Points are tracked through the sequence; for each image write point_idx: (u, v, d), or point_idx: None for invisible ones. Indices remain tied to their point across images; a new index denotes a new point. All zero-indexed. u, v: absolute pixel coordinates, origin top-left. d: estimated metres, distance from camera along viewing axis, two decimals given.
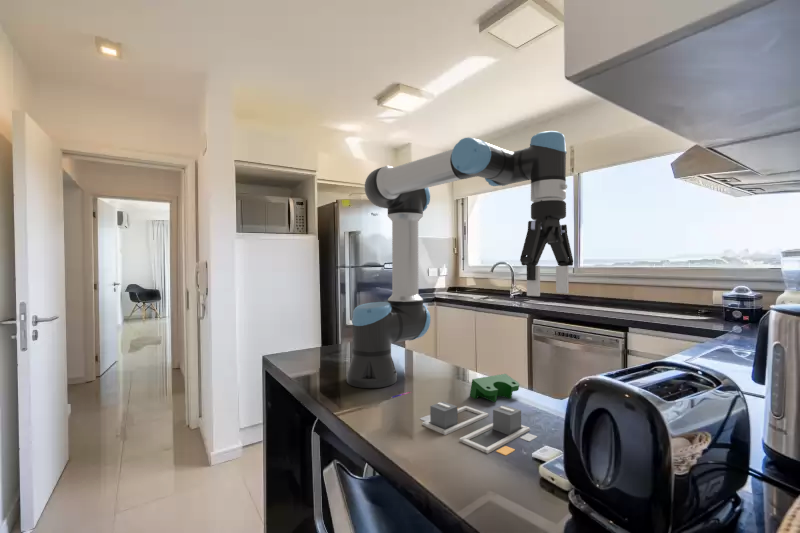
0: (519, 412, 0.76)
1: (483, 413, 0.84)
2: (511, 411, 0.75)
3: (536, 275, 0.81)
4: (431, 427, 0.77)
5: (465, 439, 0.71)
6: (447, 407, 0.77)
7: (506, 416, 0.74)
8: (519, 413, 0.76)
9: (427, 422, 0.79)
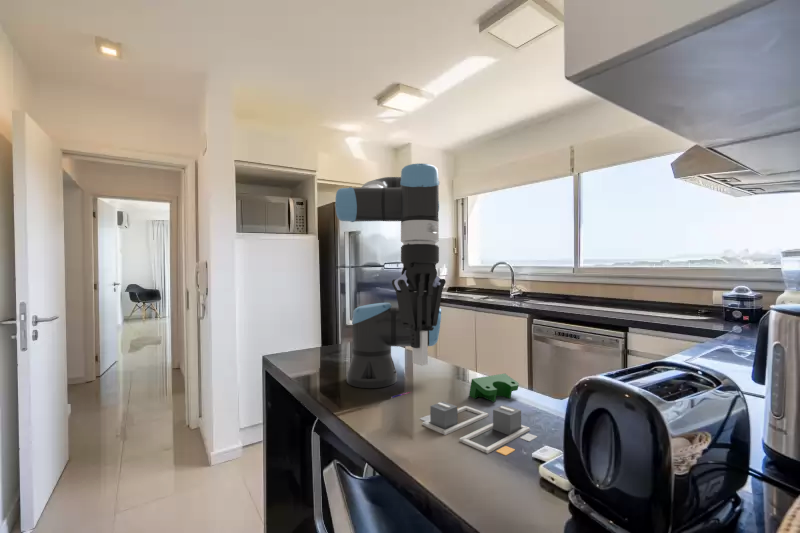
0: (519, 412, 0.76)
1: (483, 413, 0.84)
2: (511, 411, 0.75)
3: (420, 342, 0.73)
4: (431, 427, 0.77)
5: (465, 439, 0.71)
6: (447, 407, 0.77)
7: (506, 416, 0.74)
8: (519, 413, 0.76)
9: (427, 422, 0.79)
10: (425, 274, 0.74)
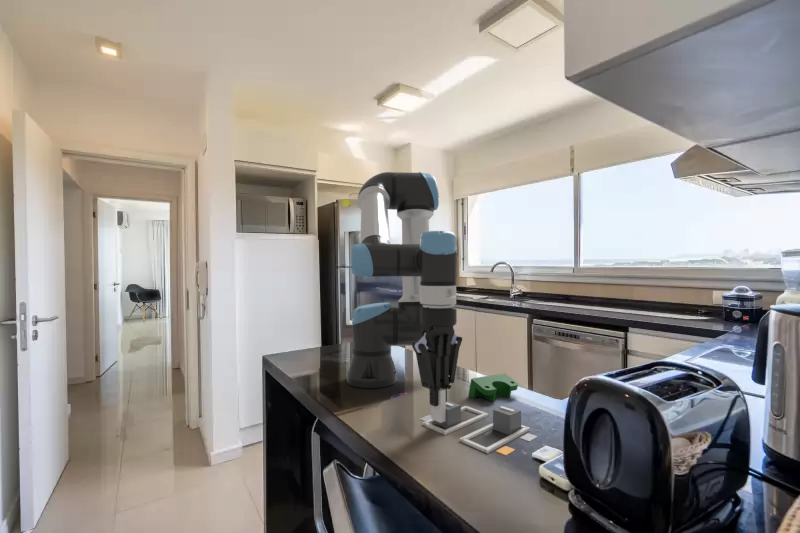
0: (519, 412, 0.76)
1: (483, 413, 0.84)
2: (511, 411, 0.75)
3: (439, 400, 0.76)
4: (431, 427, 0.77)
5: (465, 439, 0.71)
6: (451, 406, 0.78)
7: (506, 416, 0.74)
8: (519, 413, 0.76)
9: (427, 422, 0.79)
10: (443, 335, 0.77)
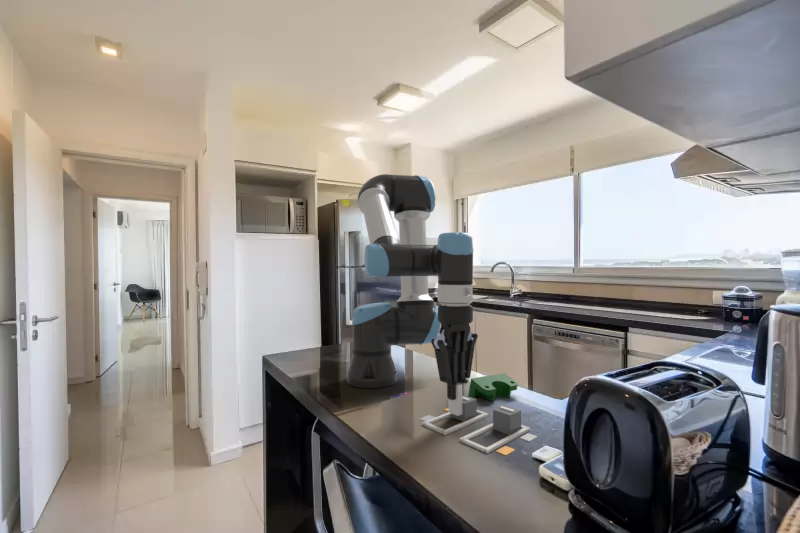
0: (519, 412, 0.76)
1: (483, 413, 0.84)
2: (511, 411, 0.75)
3: (456, 394, 0.80)
4: (431, 427, 0.77)
5: (465, 439, 0.71)
6: (467, 400, 0.82)
7: (506, 416, 0.74)
8: (519, 413, 0.76)
9: (427, 422, 0.79)
10: (460, 332, 0.81)
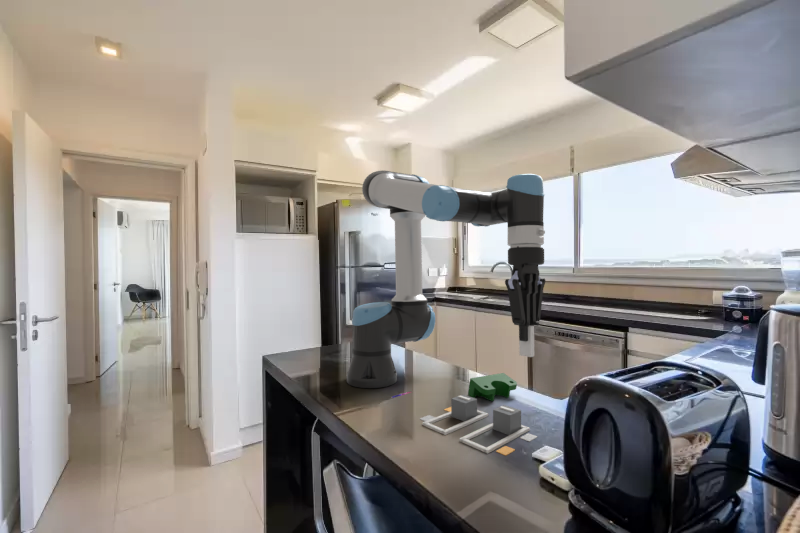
0: (519, 412, 0.76)
1: (483, 413, 0.84)
2: (511, 411, 0.75)
3: (528, 336, 0.80)
4: (431, 427, 0.77)
5: (465, 439, 0.71)
6: (467, 399, 0.82)
7: (506, 416, 0.74)
8: (519, 413, 0.76)
9: (427, 422, 0.79)
10: (531, 274, 0.81)
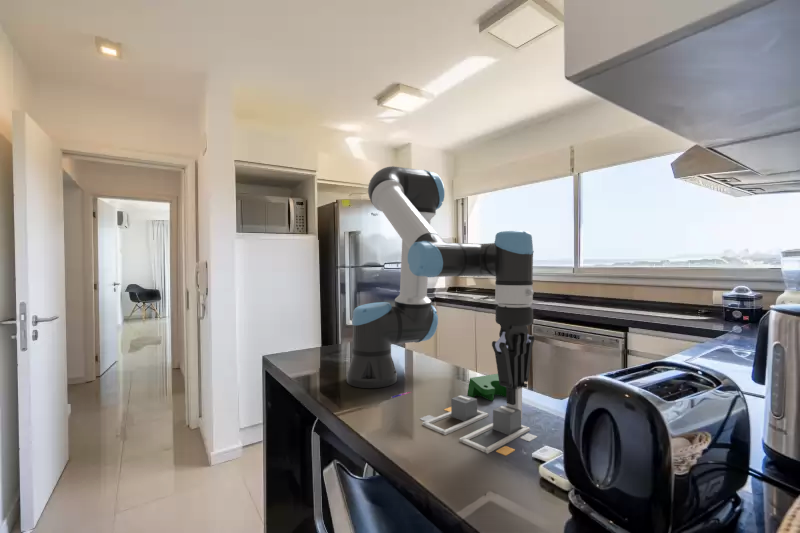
0: (519, 412, 0.76)
1: (483, 413, 0.84)
2: (511, 411, 0.75)
3: (516, 399, 0.77)
4: (431, 427, 0.77)
5: (465, 439, 0.71)
6: (467, 399, 0.82)
7: (506, 416, 0.74)
8: (519, 413, 0.76)
9: (427, 422, 0.79)
10: (520, 334, 0.78)
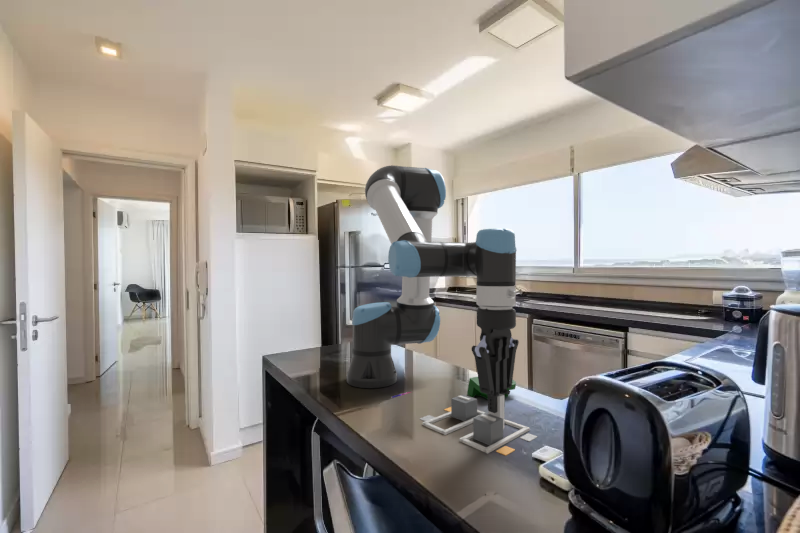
0: (501, 421, 0.72)
1: (483, 413, 0.84)
2: (492, 420, 0.71)
3: (498, 406, 0.73)
4: (431, 427, 0.77)
5: (465, 439, 0.71)
6: (467, 399, 0.82)
7: (486, 425, 0.70)
8: (501, 422, 0.72)
9: (427, 422, 0.79)
10: (502, 338, 0.74)
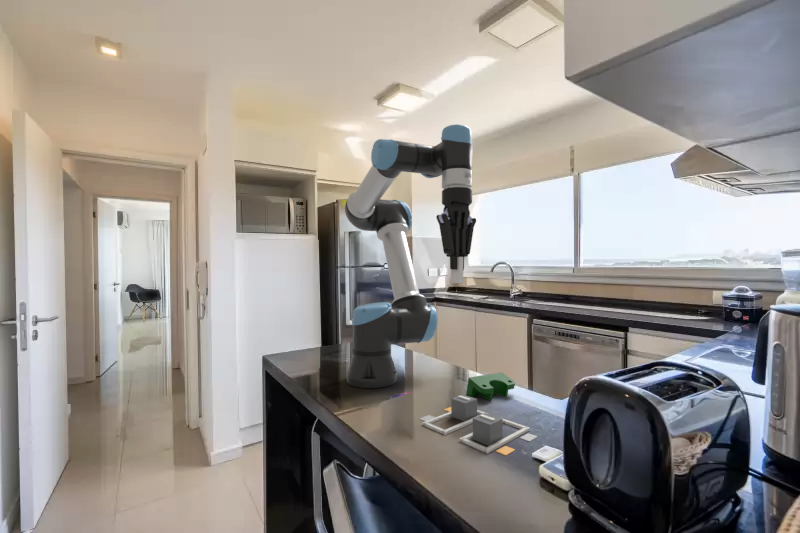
0: (500, 421, 0.71)
1: (483, 413, 0.84)
2: (491, 420, 0.71)
3: (458, 265, 0.93)
4: (431, 427, 0.77)
5: (465, 439, 0.71)
6: (467, 399, 0.82)
7: (486, 425, 0.70)
8: (500, 422, 0.71)
9: (427, 422, 0.79)
10: (461, 212, 0.94)
